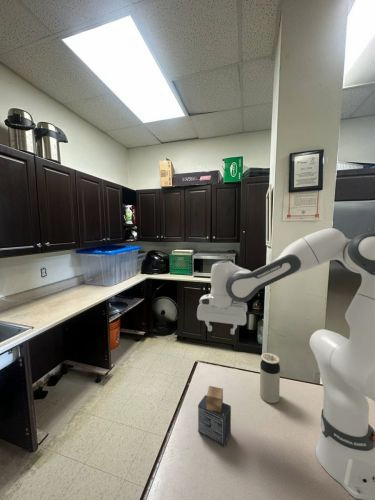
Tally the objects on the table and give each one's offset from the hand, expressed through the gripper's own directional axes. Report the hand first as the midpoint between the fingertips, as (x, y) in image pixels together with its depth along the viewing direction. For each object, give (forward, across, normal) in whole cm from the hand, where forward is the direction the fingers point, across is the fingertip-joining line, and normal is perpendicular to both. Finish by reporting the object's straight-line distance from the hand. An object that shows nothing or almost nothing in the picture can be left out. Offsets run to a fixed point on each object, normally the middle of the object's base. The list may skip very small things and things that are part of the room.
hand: (221, 332), depth 87 cm
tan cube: (+21, 0, +14) cm, 25 cm away
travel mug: (+31, -20, -10) cm, 38 cm away
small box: (+31, 0, +14) cm, 34 cm away
